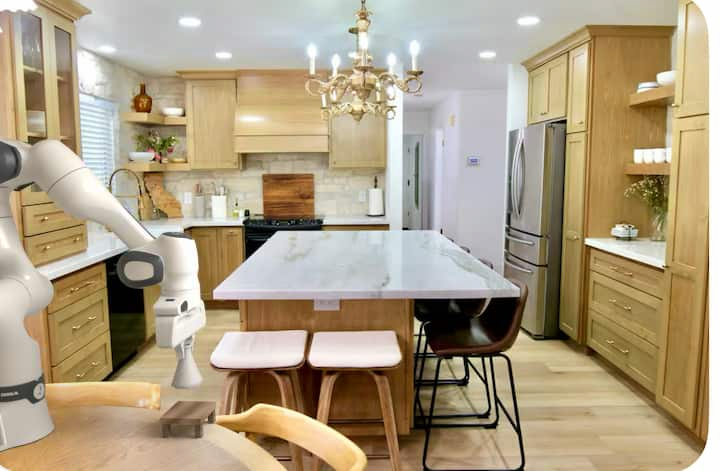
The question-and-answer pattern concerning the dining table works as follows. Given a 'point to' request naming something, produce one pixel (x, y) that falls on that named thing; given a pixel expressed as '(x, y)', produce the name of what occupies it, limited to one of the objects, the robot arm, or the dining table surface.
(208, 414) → the walnut stand
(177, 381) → the flask
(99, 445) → the dining table surface
